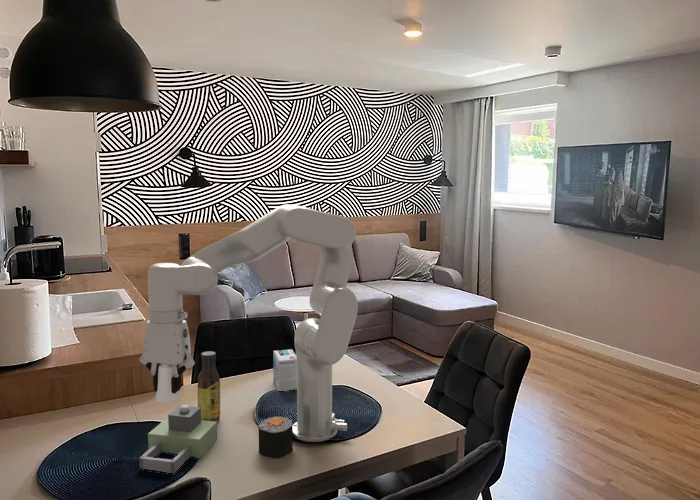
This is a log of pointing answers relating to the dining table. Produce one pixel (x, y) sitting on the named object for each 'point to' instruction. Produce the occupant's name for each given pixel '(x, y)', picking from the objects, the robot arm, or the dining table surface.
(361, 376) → the dining table surface
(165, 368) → the pepper shaker
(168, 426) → the green and grey machine
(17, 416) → the dining table surface
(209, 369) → the sauce bottle
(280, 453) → the sushi
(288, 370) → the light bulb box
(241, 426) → the dining table surface
